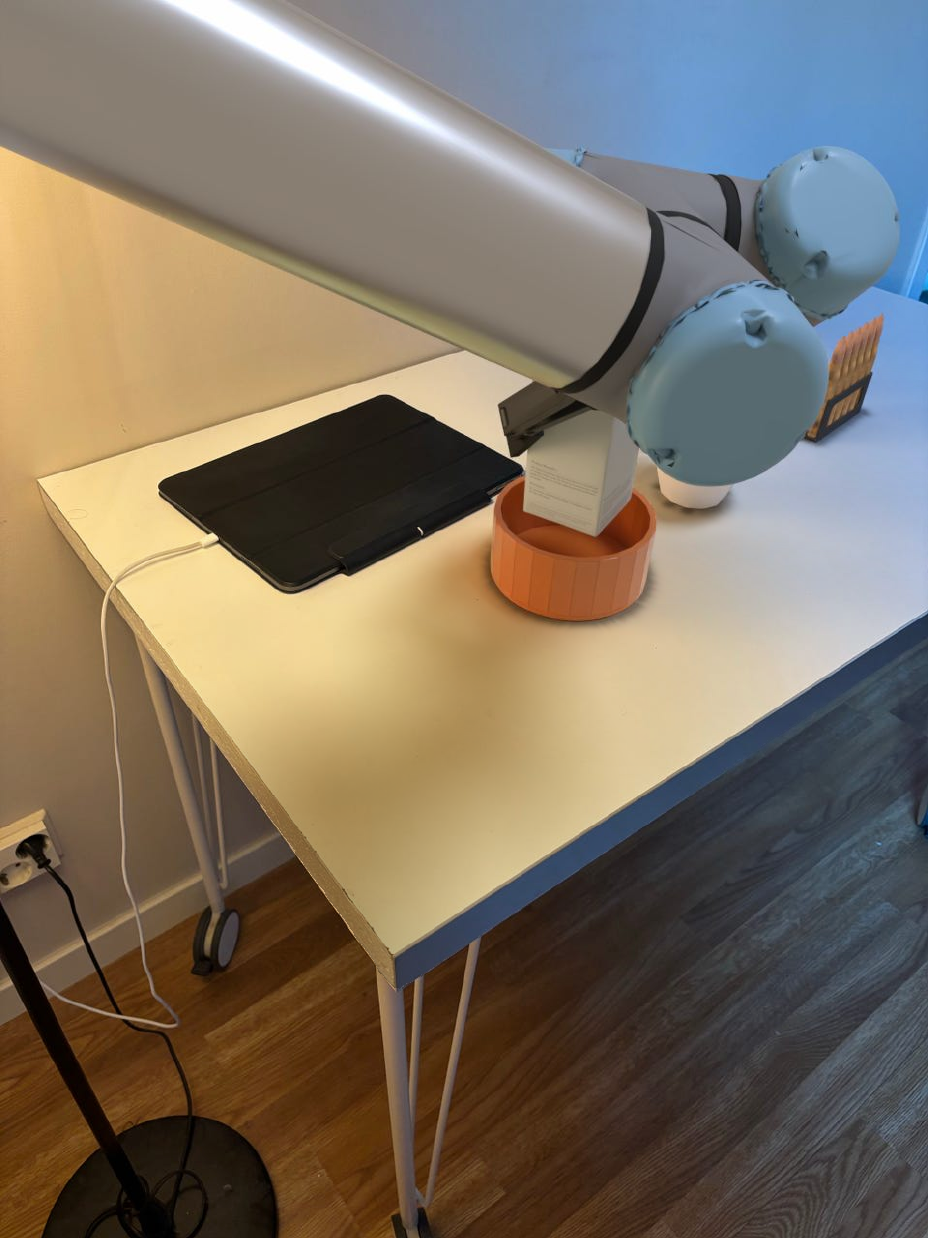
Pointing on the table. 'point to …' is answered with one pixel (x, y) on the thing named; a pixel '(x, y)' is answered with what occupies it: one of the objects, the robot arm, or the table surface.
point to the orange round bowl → (570, 559)
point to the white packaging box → (581, 472)
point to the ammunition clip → (848, 378)
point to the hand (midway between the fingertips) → (569, 433)
